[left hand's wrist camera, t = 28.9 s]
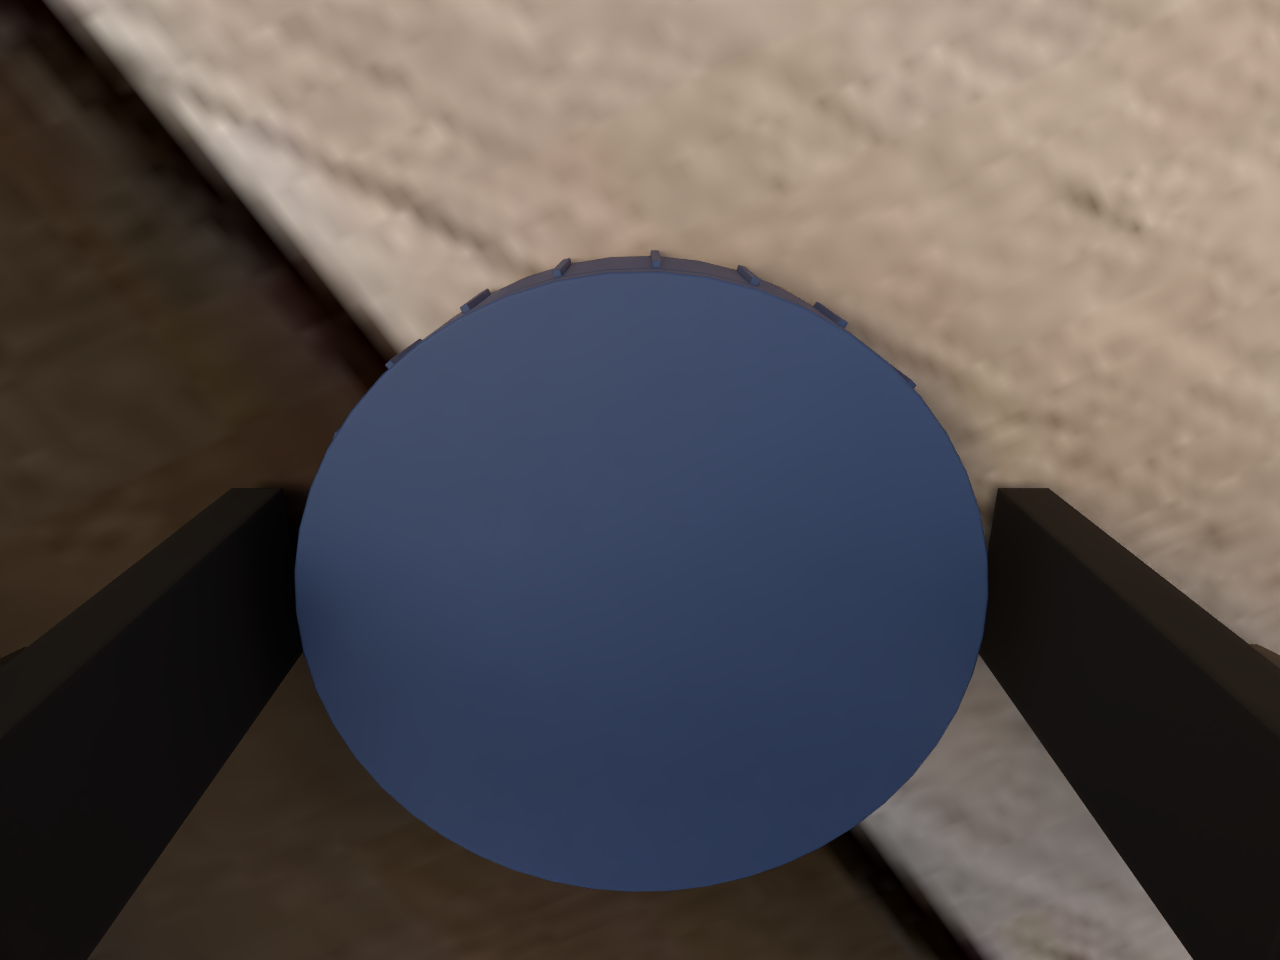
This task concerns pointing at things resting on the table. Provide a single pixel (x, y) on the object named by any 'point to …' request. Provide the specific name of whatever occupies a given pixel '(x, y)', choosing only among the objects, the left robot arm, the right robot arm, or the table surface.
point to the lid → (641, 576)
